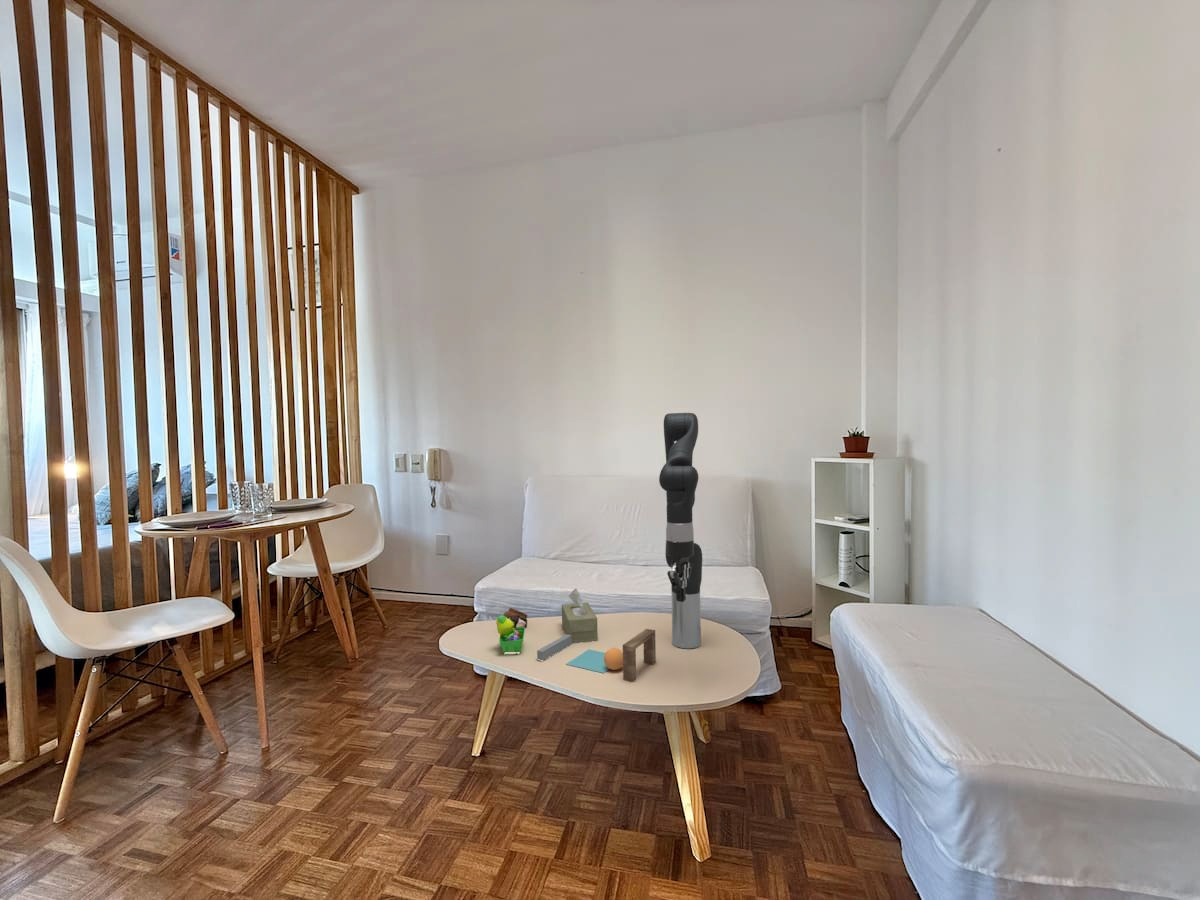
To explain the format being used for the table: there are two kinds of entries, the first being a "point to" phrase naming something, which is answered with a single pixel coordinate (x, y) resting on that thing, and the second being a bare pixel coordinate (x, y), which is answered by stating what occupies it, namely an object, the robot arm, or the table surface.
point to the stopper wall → (554, 647)
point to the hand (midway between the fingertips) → (680, 600)
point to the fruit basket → (509, 635)
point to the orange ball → (613, 659)
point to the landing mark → (590, 661)
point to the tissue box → (579, 620)
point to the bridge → (630, 653)
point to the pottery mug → (515, 616)
